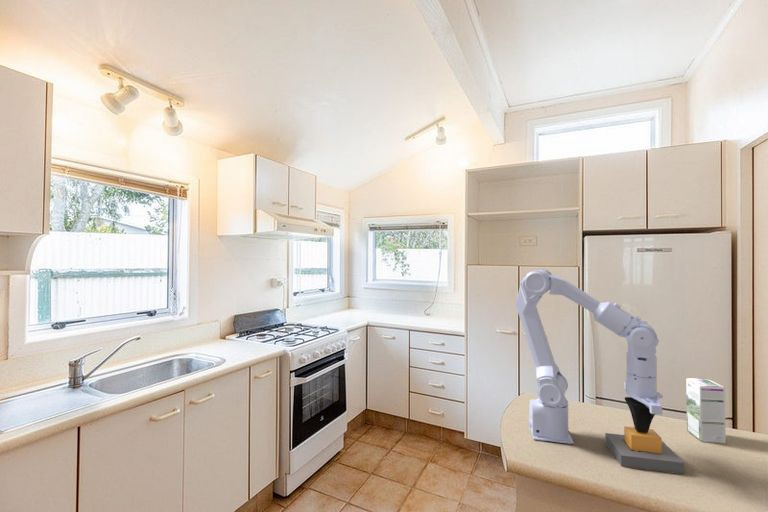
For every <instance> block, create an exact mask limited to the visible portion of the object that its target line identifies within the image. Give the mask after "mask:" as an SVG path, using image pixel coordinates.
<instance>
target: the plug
mask: <svg viewBox="0 0 768 512" xmlns="http://www.w3.org/2000/svg"><path fill="white" fill-rule="evenodd" d="M623 428H624V429H623V430H624V431H623V433H624V434H623V435H624V441H625V442H626V444H627V445H628V446H629V447H630V449H631V450H633V451H636V452H638V451H646V452H654V453H662V445H661V440H662V437H661V436H660V435H659V434H658V433H657V432H656V431H655V429H651V428H649V431H648V433H642V432H637V430H636V429H635V427H633V426H624V427H623Z"/></svg>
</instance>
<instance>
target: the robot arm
mask: <svg viewBox="0 0 768 512" xmlns="http://www.w3.org/2000/svg"><path fill="white" fill-rule="evenodd" d="M548 291H549V292H548ZM547 292H548V294H549V295H553V296H555V295H556V296H557V295H558V296H563V297H565V298H567V299H568V300H571V302H573V303H575V304H577V305H579V306H580V307H582V308H584V309H586V310H587V311H589V312H590V313H592V315H593V319H594V321H595V322H597V323H598V324H600V325H602V326H603V327H604V328H606V329H608V330H610V331H611V332H612V333H614V334H615V335H618V336H619V337H620V338H621V337H622V338H625V339H626V342H627V352H626V380H624V381H623V389H624V390H625V394H626V395H627V396H625V397H624V401H625V402H626V404H627V406H628V408H629V411H630V414H631V419H632V422H633V425H634V428H635V429H636V430H637V432H642V433H648V431H649V429H651V424H652V421H653V419H654V418H655V416H656V415H659V416H662V415H663V406H662V404H660V399H663V398H664V397H663V394H661V393H660V392H657V391H658V390H657V389H658V388H657V385H658V382H657V378H658V377H657V374H658V373H657V372H658V371H657V369H658V367H657V365H658V364H657V361H658V359H657V355H656V354H657V346H658V345H659V342H660V341H659V340H660V339H659V338H658V334H657V332H656V330H655V329H654V328H653V326H652V325H650V324H649V323H648V322H647V321H644V320H642V318H640V317H639V316H634V315H632V314H630V313H629V312H627V311H626V310H624V309H622V308H621V306H622V305H620V304H619V303H618V302H615V303H614V304H613V303H612V302H610V301H606V302H600V301H599V300H597V299H596V298H595V297H592V296H591V295H590V294H588V293H587V292H585V291H584V290H582V289H581V288H579V287H577V286H576V285H574V284H573V283H571V282H570V281H568V280H567V279H565V278H563V277H561V276H559V275H558V274H554V273H552V272H550V271H549V270H548V269H544V268H540V269H536V270H532V271H530V272H528V273H527V274H526V275H525V276H524V277H523V279H522V280H521V281H520V283H519V289H518V293H517V297H516V300H515V308H516V310H517V314H518V316H519V319H520V323H521V325H522V326H521V327H522V329H523V332H524V334H525V338H526V341H527V344H528V347H529V350H530V354H531V356H532V360H533V363H534V366H535V374H536V375H535V376H536V378H535V379H536V381H537V389H536V393H537V396H538V397H537V398H536V399H535V398H533V399H529V403H528V404H529V405H528V409H529V410H528V417H529V418H528V419H529V420H528V426H529V430H530V433H531V436H532V439H533V440H534V441H535V440H536V441H544V442H553V443H560V444H561V443H562V444H570V445H574V440H573V438H572V437H571V435H570V432H569V401H568V400H567V398H566V392H567V390H568V387H569V383H568V381H567V378H566V377H565V376H564V374H562V372H561V371H560V367H559V366H558V364H557V363H556V362H555V359H554V355H553V353H552V349H551V347H550V344H549V341H548V338H547V335H546V332H545V329H544V326H543V323H542V320H541V316H540V314H539V313H540V312H538V309H537V308H538V307H537V305H538V304H539V302H540V300H541V299H542V297H543V295H544V294H546V293H547Z"/></svg>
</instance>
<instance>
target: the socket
mask: <svg viewBox="0 0 768 512" xmlns="http://www.w3.org/2000/svg"><path fill="white" fill-rule="evenodd" d="M604 435H605V439H604V441H605V444H606V447H608V449H609V450H610V451H611V453H612V455H613V456H614V458H615V459H616V461H617V462H618V463H619V465H620V466H621V467H623V468H631V469H632V468H634V469H639V470H640V469H641V470H648V471H655V472H656V471H657V472H664V473H673V474H679V475H684V474H685V463H684V461H683V460H682V459H681V458H680V457H679V456H678V455H677V454H676V453H675V452H674V451H673V450H672V449H671V448H670V447H669V446H668V445H667V444H666V443H665V442H664V441H663V440H662V439H661V445H662V453H654V452H646V451H638V452H636V451H633V450H631V449H630V447H629V446H628V445H627V444H626V442H625V441H624V434H617V433H608V432H605V434H604Z"/></svg>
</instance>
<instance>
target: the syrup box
mask: <svg viewBox="0 0 768 512" xmlns="http://www.w3.org/2000/svg"><path fill="white" fill-rule="evenodd" d="M685 382H686V383H685V384H686V386H685V388H686V391H685V392H686V399H685V400H686V430H687V432H689V433H690V434H691V435H692V436H694V437H695V438H696V439H698V440H699V441H700V442H702V443H703V442H704V443H711V444H712V443H714V444H726V440H727V438H726V435H727V433H726V388H725V386H723V385H722V384H719V383H718V382H715V381H713V380H711V379H708V378H701V377H700V378H699V377H691V378H690V377H688V378H686V379H685Z"/></svg>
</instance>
